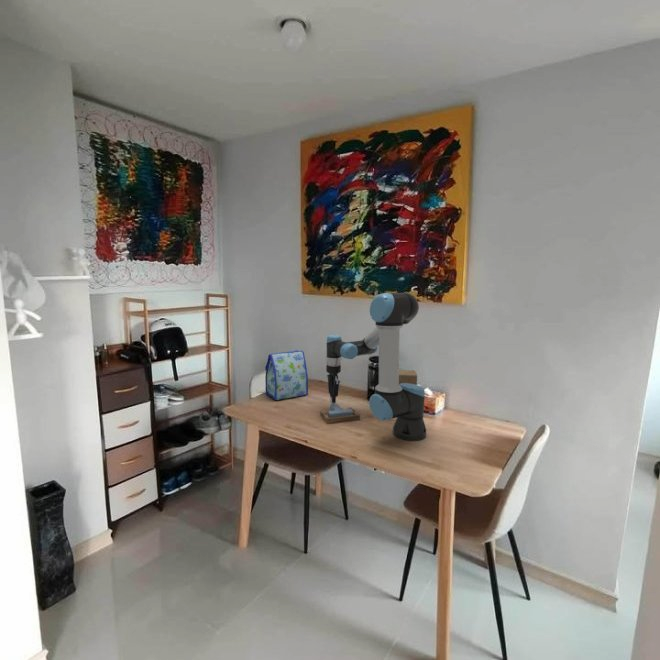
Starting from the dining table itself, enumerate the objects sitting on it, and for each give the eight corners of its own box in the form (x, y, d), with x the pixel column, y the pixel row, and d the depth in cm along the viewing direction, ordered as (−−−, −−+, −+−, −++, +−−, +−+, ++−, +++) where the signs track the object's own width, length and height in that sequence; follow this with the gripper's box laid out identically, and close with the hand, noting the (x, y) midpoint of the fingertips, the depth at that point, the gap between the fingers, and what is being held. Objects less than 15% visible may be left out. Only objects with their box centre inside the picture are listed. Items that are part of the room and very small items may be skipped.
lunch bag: (295, 388, 241) (295, 347, 237) (309, 395, 228) (310, 352, 224) (263, 394, 229) (262, 351, 225) (275, 402, 216) (275, 357, 211)
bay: (359, 420, 193) (359, 415, 192) (327, 424, 187) (327, 419, 187) (350, 411, 204) (351, 407, 203) (320, 415, 198) (320, 410, 198)
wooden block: (413, 405, 215) (415, 370, 212) (415, 411, 205) (417, 375, 202) (395, 404, 216) (396, 369, 213) (396, 410, 206) (398, 374, 203)
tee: (352, 417, 195) (353, 411, 195) (330, 420, 191) (330, 413, 191) (344, 409, 207) (344, 403, 206) (322, 412, 203) (323, 405, 202)
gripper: (344, 367, 196) (343, 411, 200) (336, 361, 208) (335, 403, 212) (330, 368, 194) (330, 413, 198) (322, 362, 206) (322, 404, 210)
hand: (332, 407), depth 205 cm, fingers closed
